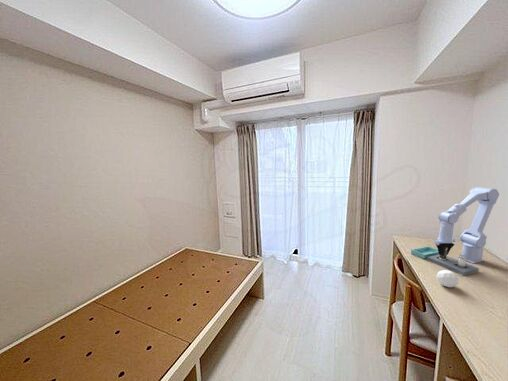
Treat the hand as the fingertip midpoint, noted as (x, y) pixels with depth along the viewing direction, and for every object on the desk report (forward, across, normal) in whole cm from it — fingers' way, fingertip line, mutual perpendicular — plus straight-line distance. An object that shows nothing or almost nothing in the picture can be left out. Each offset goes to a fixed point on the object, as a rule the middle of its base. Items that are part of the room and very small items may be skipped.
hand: (443, 254), depth 125 cm
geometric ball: (+5, +24, +16) cm, 30 cm away
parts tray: (+5, 0, -10) cm, 11 cm away
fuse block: (+5, 0, +4) cm, 6 cm away
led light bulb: (+3, 0, 0) cm, 3 cm away
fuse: (+5, 0, +9) cm, 10 cm away
